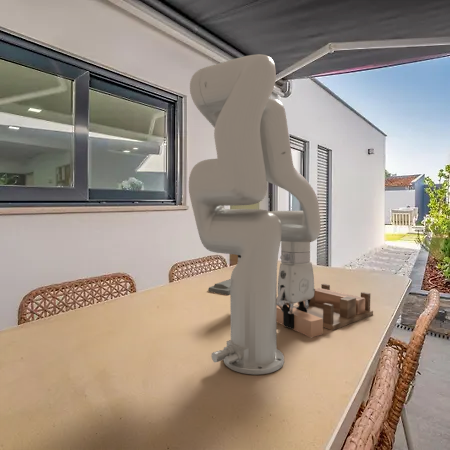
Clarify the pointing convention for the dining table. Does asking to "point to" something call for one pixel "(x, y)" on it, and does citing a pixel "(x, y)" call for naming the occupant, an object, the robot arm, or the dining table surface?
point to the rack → (338, 307)
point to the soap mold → (221, 287)
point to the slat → (304, 322)
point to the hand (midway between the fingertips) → (295, 324)
